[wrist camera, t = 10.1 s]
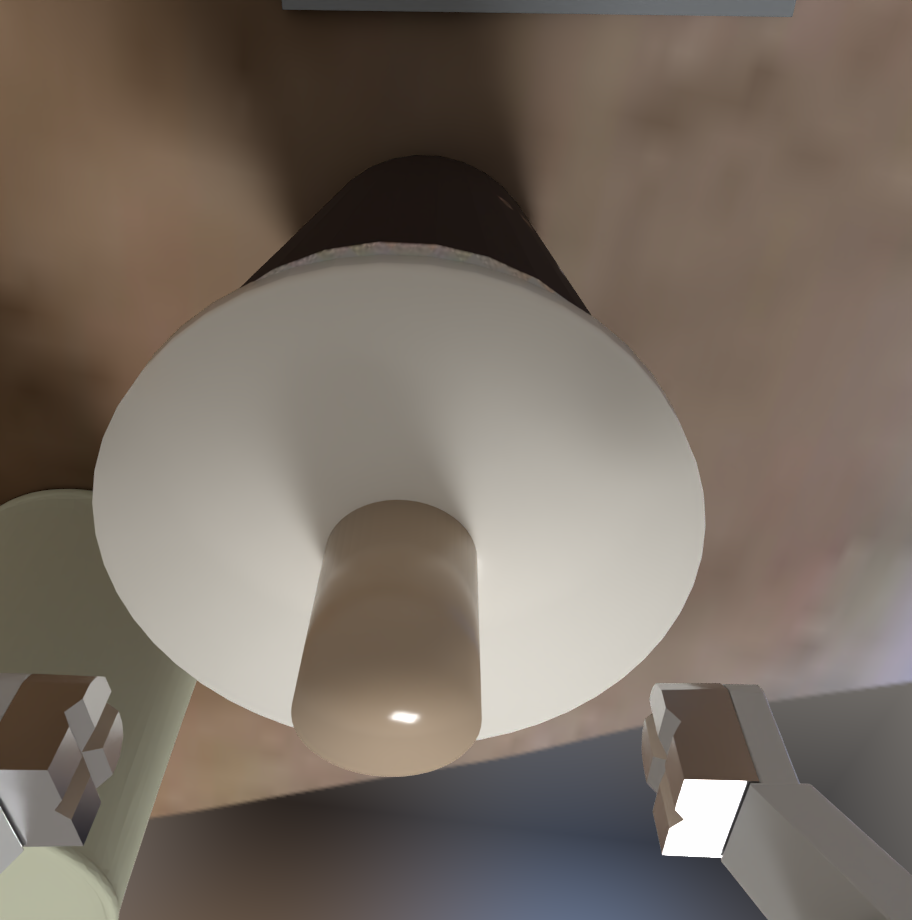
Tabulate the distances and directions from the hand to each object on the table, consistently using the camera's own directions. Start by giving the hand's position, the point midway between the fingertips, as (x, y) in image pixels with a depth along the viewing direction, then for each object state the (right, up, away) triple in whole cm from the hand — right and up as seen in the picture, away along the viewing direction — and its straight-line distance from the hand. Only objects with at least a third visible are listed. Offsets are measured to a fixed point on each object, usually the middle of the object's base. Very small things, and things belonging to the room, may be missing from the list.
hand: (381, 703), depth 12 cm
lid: (0, +2, +3) cm, 4 cm away
